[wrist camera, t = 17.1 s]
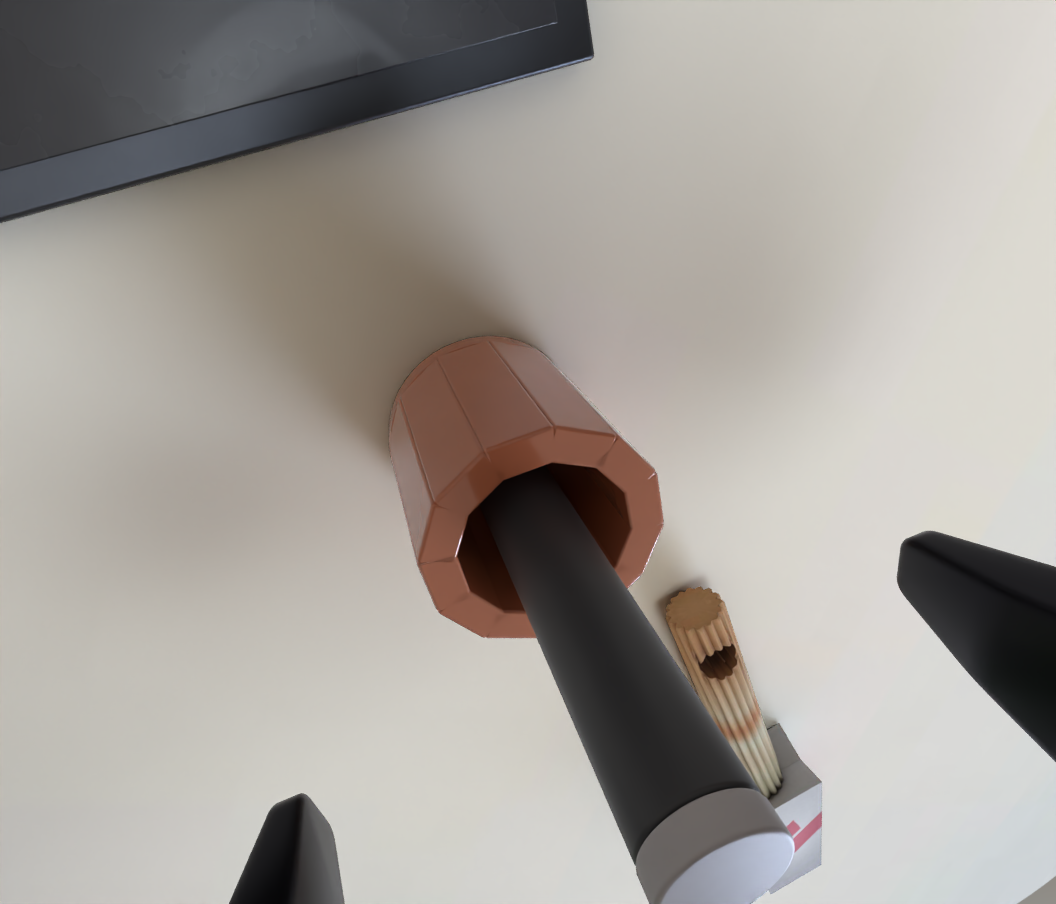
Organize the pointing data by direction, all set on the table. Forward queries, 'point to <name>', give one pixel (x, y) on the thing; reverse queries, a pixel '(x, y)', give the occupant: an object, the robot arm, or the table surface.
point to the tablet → (238, 78)
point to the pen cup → (508, 472)
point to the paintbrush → (747, 722)
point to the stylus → (636, 711)
